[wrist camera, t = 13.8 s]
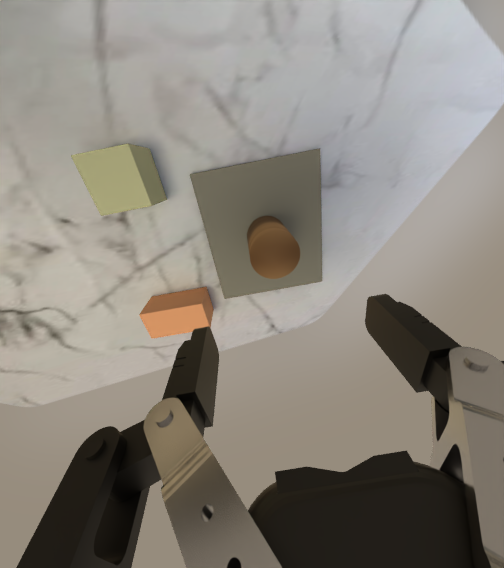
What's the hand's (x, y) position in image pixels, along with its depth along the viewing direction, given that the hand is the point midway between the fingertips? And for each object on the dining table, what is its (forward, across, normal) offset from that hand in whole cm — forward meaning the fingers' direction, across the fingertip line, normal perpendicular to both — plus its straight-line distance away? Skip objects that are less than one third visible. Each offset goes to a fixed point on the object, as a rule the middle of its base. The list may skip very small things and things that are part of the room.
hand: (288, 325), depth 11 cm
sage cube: (+18, +12, -8) cm, 23 cm away
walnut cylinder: (+17, -1, 0) cm, 17 cm away
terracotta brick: (+18, +13, +8) cm, 24 cm away
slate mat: (+18, -1, 0) cm, 18 cm away
